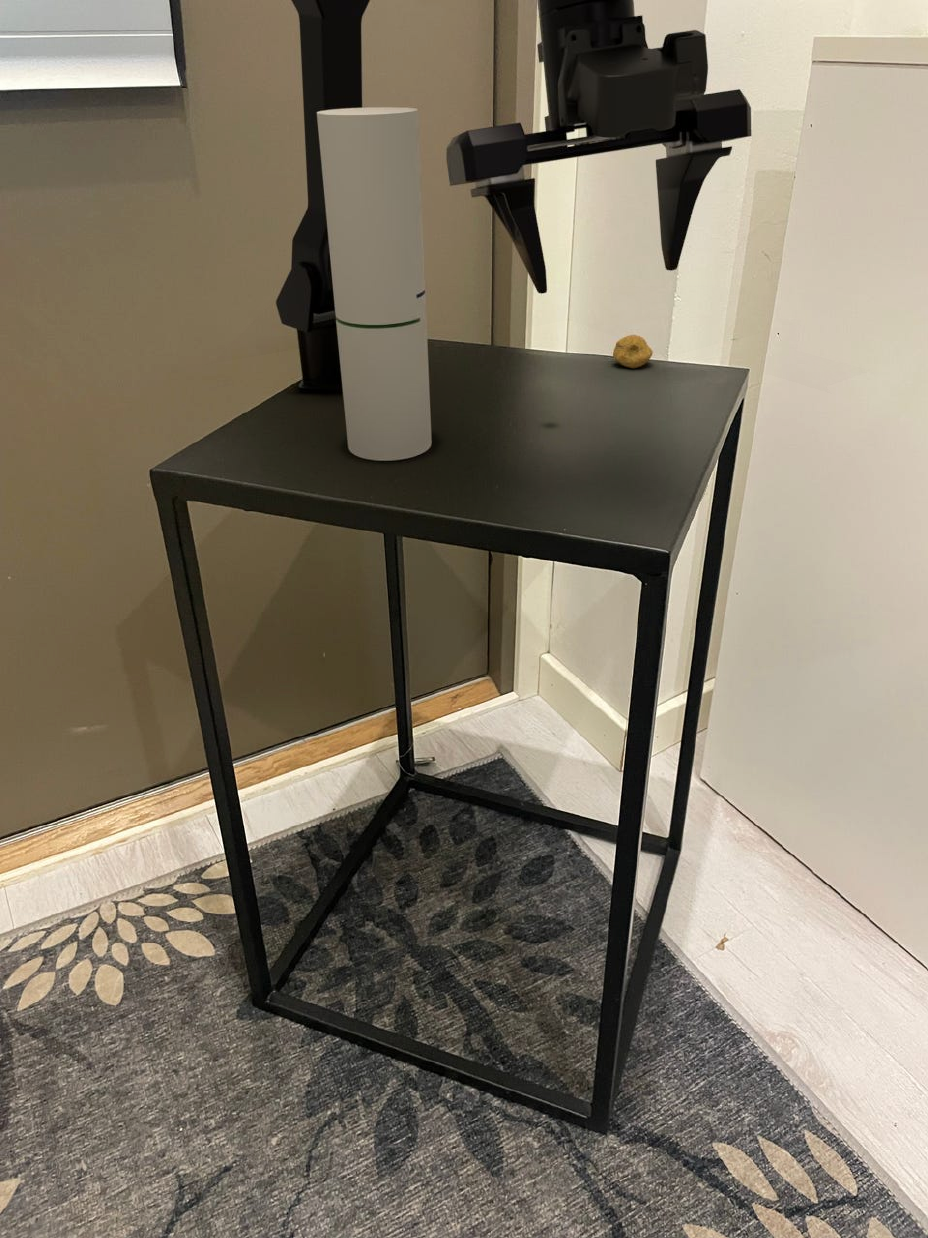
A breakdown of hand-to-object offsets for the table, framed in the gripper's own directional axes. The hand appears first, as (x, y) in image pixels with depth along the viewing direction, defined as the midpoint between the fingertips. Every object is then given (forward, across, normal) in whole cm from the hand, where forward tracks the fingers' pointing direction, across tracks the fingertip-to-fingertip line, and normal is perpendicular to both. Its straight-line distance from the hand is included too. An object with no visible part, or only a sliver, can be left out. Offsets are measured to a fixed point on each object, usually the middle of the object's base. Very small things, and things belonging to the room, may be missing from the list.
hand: (607, 281), depth 62 cm
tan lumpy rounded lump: (+12, +13, +30) cm, 35 cm away
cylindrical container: (+12, -15, +15) cm, 24 cm away
